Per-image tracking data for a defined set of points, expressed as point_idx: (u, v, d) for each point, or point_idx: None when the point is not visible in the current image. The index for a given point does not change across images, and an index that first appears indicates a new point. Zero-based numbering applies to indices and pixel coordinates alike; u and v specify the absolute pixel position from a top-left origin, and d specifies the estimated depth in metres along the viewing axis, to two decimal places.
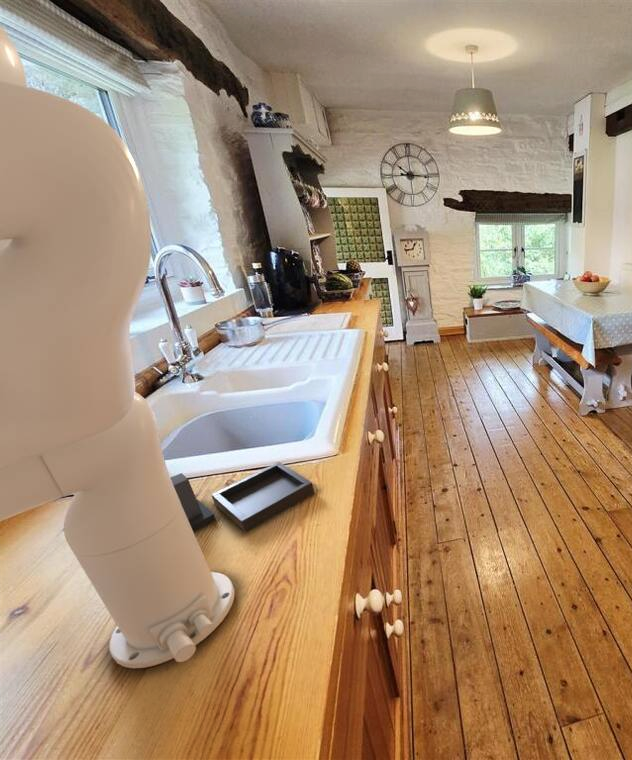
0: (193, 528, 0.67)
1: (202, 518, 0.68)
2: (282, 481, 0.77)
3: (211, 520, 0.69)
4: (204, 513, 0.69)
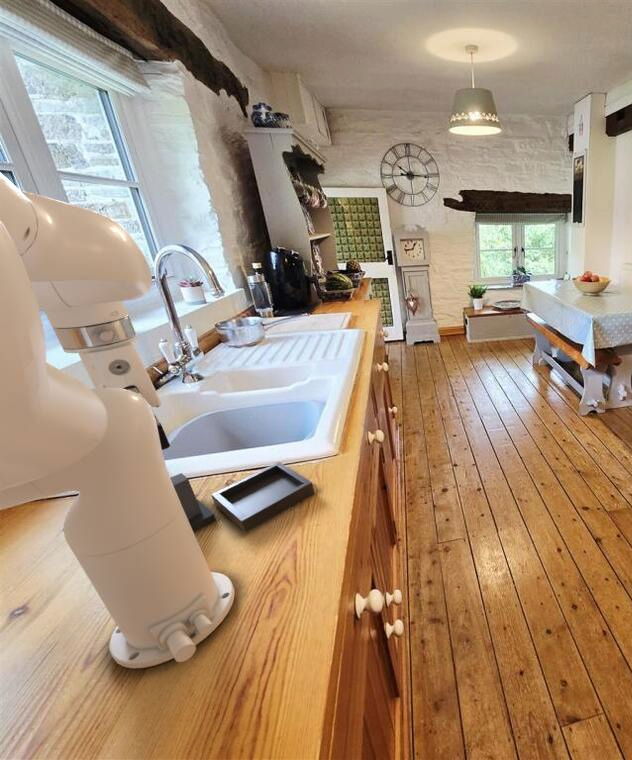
0: (193, 528, 0.67)
1: (202, 518, 0.68)
2: (282, 481, 0.77)
3: (211, 520, 0.69)
4: (204, 513, 0.69)
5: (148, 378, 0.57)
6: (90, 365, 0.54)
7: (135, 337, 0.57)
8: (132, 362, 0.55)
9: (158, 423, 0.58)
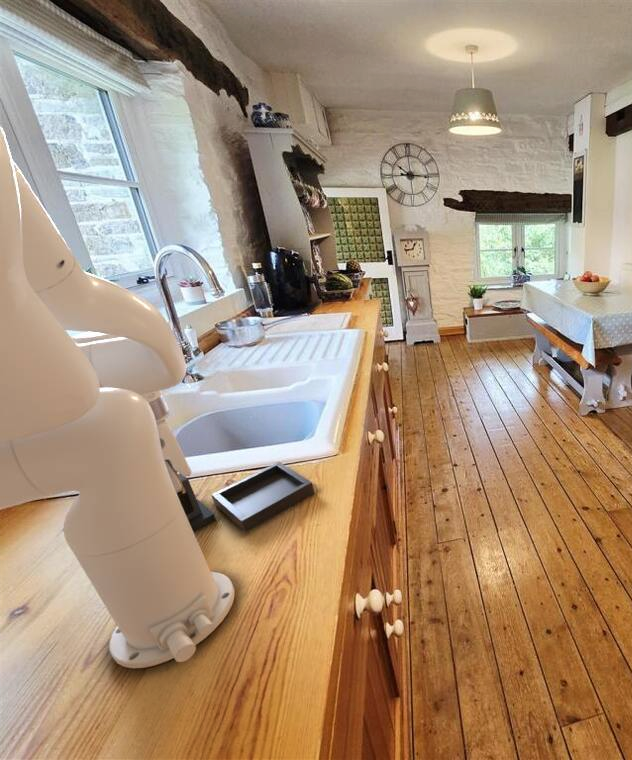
0: (193, 528, 0.67)
1: (202, 518, 0.68)
2: (282, 481, 0.77)
3: (211, 520, 0.69)
4: (204, 513, 0.69)
5: (180, 451, 0.62)
6: None
7: (168, 413, 0.62)
8: (166, 438, 0.60)
9: (185, 493, 0.65)
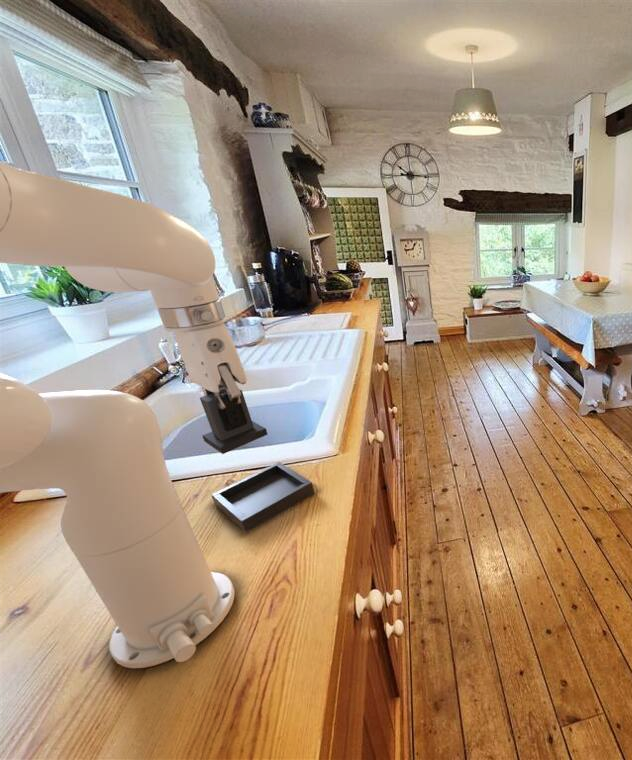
0: (247, 440, 0.66)
1: (255, 431, 0.68)
2: (282, 481, 0.77)
3: (263, 434, 0.68)
4: (256, 428, 0.69)
5: (238, 356, 0.62)
6: (189, 343, 0.58)
7: (225, 318, 0.62)
8: (225, 341, 0.60)
9: (240, 403, 0.65)
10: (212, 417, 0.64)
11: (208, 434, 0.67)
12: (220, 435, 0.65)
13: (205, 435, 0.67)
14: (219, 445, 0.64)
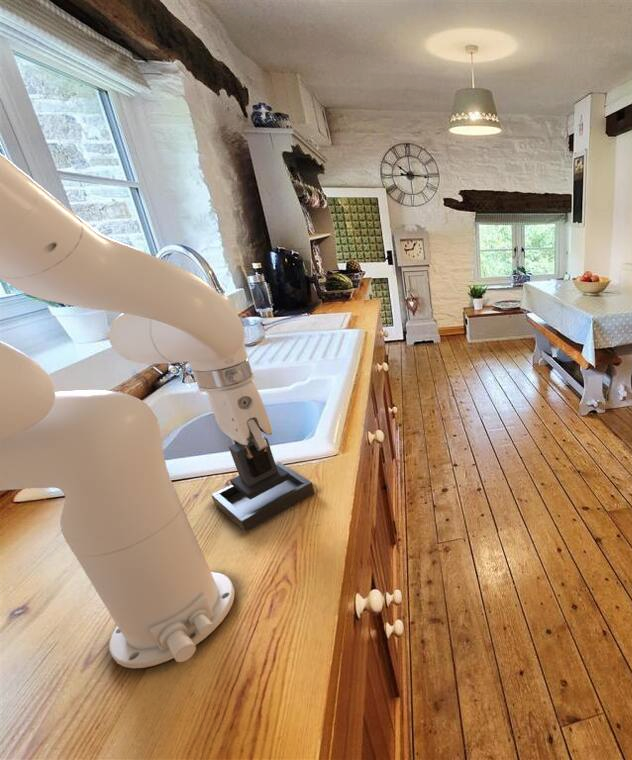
0: (272, 485, 0.71)
1: (279, 476, 0.72)
2: None
3: (287, 478, 0.73)
4: (280, 472, 0.73)
5: (265, 410, 0.66)
6: (221, 401, 0.63)
7: (253, 375, 0.66)
8: (254, 397, 0.64)
9: (265, 451, 0.69)
10: (240, 465, 0.68)
11: (235, 478, 0.72)
12: (247, 481, 0.69)
13: (233, 480, 0.72)
14: (247, 491, 0.69)
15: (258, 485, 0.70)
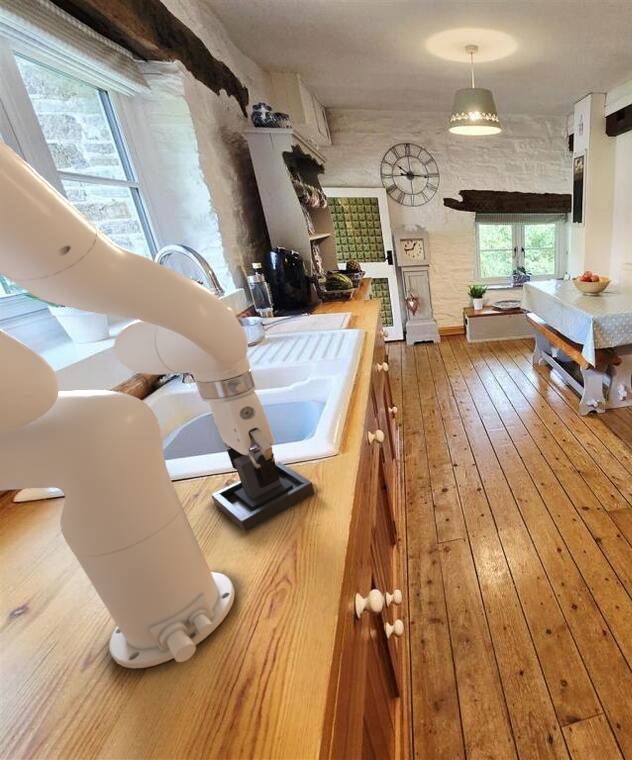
0: (276, 497, 0.72)
1: (282, 488, 0.73)
2: None
3: (290, 490, 0.74)
4: (283, 484, 0.74)
5: (266, 421, 0.66)
6: (224, 412, 0.63)
7: (255, 385, 0.67)
8: (256, 408, 0.65)
9: (273, 459, 0.67)
10: (245, 478, 0.69)
11: (239, 491, 0.73)
12: (251, 494, 0.70)
13: (237, 492, 0.73)
14: (251, 504, 0.69)
15: (262, 498, 0.71)
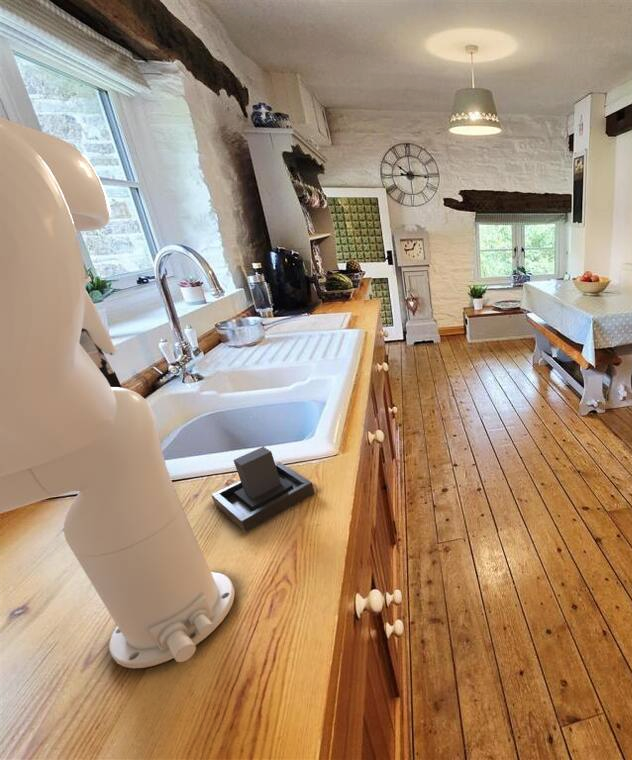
0: (276, 497, 0.72)
1: (282, 488, 0.73)
2: None
3: (290, 490, 0.74)
4: (283, 484, 0.74)
5: (100, 322, 0.54)
6: None
7: (88, 279, 0.55)
8: None
9: (111, 371, 0.55)
10: (245, 478, 0.69)
11: (239, 491, 0.73)
12: (251, 494, 0.70)
13: (237, 492, 0.73)
14: (251, 504, 0.69)
15: (262, 498, 0.71)
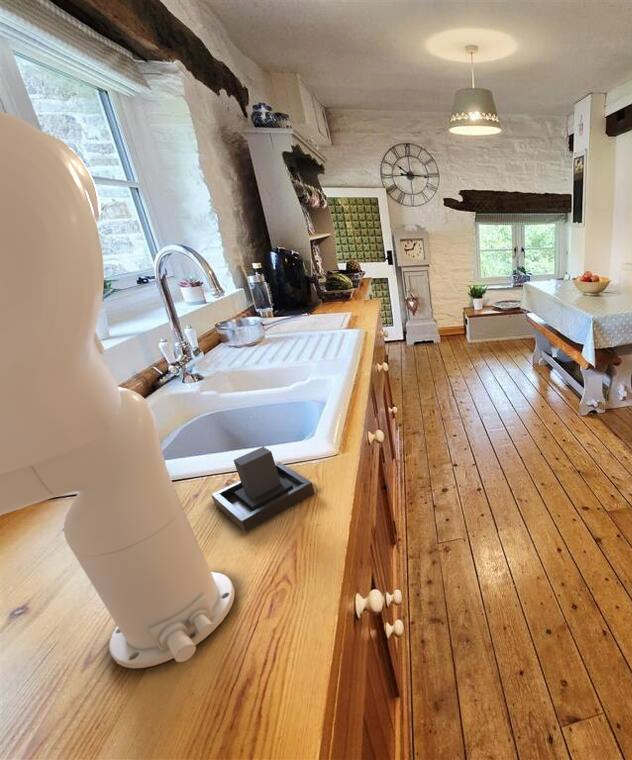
0: (276, 497, 0.72)
1: (282, 488, 0.73)
2: None
3: (290, 490, 0.74)
4: (283, 484, 0.74)
5: None
6: None
7: None
8: None
9: None
10: (245, 478, 0.69)
11: (239, 491, 0.73)
12: (251, 494, 0.70)
13: (237, 492, 0.73)
14: (251, 504, 0.69)
15: (262, 498, 0.71)
